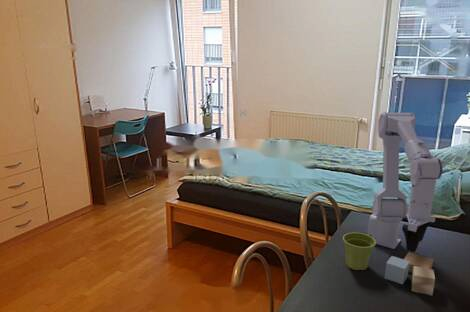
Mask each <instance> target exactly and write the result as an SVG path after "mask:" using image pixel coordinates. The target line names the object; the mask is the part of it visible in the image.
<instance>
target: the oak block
mask: <svg viewBox="0 0 470 312" xmlns="http://www.w3.org/2000/svg"><path fill="white" fill-rule="evenodd" d="M403 259H404V260H407V261H410V263H409V270H408V273H413V267H414V266H417V267H422V268H427V269H432V268H433V263H434V258H429V257H427V256H423V255H420V254H416V253H415V252H412V251H408V253H407V254H406V255H405V256H404V258H403Z"/></svg>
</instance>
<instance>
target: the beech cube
mask: <svg viewBox="0 0 470 312" xmlns="http://www.w3.org/2000/svg"><path fill="white" fill-rule="evenodd" d="M435 282H436V277H435V270H434V269H432V268H431V269H427V268H422V267H417V266H414V267H413V273H412V274H411V291H412V292H415V293H420V294H424V295H428V296H433V293H434V289H435Z"/></svg>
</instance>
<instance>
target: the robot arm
mask: <svg viewBox="0 0 470 312" xmlns="http://www.w3.org/2000/svg"><path fill="white" fill-rule="evenodd" d="M377 122H378V123H377V124H378V125H377V126H378V129H377V133H378V138H380V139H381V140H382V147H383V149H382V153H383V154H382V188H381V189H379V190H378V191H377V192H376V193H374V195H373V201H372V212H373V213H371V215H370V216H369V219H368V223H367V233H366V235H369V236H371V237H372V238H374V239H375V241H376V244H375V245H379V246H383V247H385V248H389V249H392V250H395V249H396V248H397V246H398V245H399V243H400V242H401V241H402V240H401V238H398V237H399V233H400V232H399V231H400V224H401V222H402V221H403V219H404V218H405V217H406V219H407V221H408V224H406V223H405V224H404V223H403V225H402V226H401V230H402V232H403V235H404V238H405V246H406V250H407V251H408V252H411V253H416V252H417V248H418V246H419V243H421V242H422V240H424V236H425V234H426V231H427V229H428V227H429V226H430V224H431V223H435V221H436V217H433V216H431V215H432V209H433V203H434V196H435V191H436V184H437V180H440V179H441V177H442V175H443V171H444V169H443V168H444V166H443V162H442V160H441V158H439V157H436V156H435V155H432V153H431V151H430V149H429V148H428V146H427V145H426V143H425V141H423V139H420V138H419V137H418V135H417V132H416V130H415V127H416V116H415V114H414V113H413V112H411V111H409V112H386V111H383V112H382V113H381V114H380V115H379V118H378V121H377ZM401 140H402V141H403V143H404V144H405V145H404V148H403V149H404V150H403V151H404V152H405V155H406V157H407V158H408V161H409V163H410V165H409V172H410V179H409V180H410V183H411V188H410V189H411V190H410V194H409V201H408V202H409V203H408V202H407V195H406V194H404V192H402V191H401V190H400V188H399V187H400V183H399V182H400V181H399V180H400V179H399V178H400V175H399V174H400V167H399V166H400V163H399V162H400V142H401Z"/></svg>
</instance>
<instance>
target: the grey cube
mask: <svg viewBox="0 0 470 312" xmlns="http://www.w3.org/2000/svg"><path fill="white" fill-rule="evenodd" d="M409 263H410V261H407V260H404V258H400V257H398V256H393V255H391V257H389V259H388V260H387V261H386V265H385V272H384V279H385V280H389V281H391V282H395V283H397V284H400V285H404V283H405V282H406V280H407V279H408V276H409V272H408V270H409Z"/></svg>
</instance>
